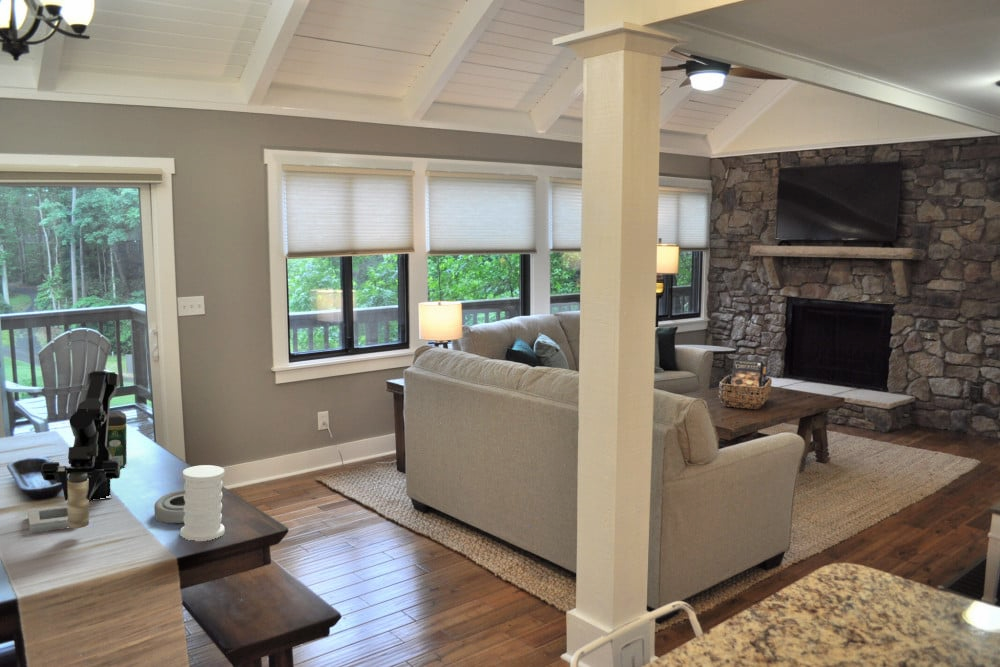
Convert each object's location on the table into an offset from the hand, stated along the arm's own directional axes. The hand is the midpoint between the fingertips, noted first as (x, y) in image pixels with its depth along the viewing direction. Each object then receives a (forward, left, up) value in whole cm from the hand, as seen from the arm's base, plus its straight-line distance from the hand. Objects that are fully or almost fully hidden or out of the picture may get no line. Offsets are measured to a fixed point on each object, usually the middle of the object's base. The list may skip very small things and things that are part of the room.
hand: (77, 499), depth 212 cm
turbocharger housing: (-29, -8, -11) cm, 32 cm away
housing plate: (+5, -14, -11) cm, 19 cm away
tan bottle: (0, -1, -8) cm, 8 cm away
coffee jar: (-16, -62, -11) cm, 65 cm away
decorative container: (-30, +9, -11) cm, 34 cm away
